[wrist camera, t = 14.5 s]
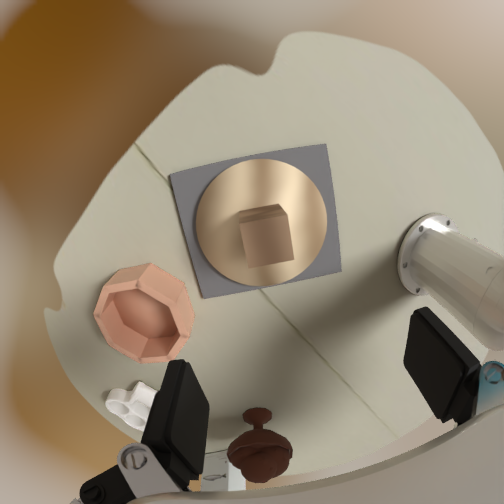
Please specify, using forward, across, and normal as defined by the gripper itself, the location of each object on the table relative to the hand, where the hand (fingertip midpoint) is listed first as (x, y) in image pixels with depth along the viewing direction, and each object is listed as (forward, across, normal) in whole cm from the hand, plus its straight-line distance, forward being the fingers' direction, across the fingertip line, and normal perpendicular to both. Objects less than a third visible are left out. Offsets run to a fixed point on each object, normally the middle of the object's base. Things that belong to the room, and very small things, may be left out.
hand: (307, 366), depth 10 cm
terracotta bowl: (+23, +18, +8) cm, 30 cm away
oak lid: (+23, 0, 0) cm, 23 cm away
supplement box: (+23, +18, +52) cm, 60 cm away
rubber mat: (+23, 0, 0) cm, 23 cm away
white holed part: (+24, +27, +31) cm, 47 cm away
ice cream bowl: (+24, +8, +35) cm, 43 cm away
